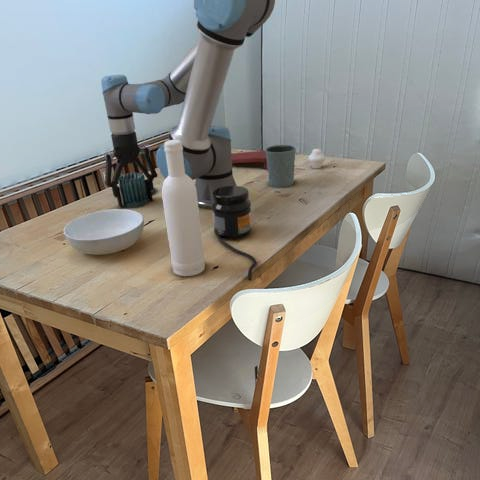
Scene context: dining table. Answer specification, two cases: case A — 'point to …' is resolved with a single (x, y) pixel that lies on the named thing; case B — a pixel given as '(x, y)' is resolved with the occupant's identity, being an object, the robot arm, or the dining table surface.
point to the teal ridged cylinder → (133, 190)
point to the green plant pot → (280, 165)
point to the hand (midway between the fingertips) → (135, 203)
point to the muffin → (316, 158)
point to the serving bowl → (104, 231)
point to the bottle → (182, 214)
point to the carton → (250, 157)
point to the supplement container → (231, 212)
